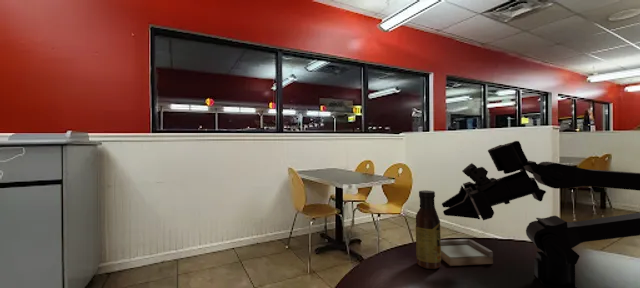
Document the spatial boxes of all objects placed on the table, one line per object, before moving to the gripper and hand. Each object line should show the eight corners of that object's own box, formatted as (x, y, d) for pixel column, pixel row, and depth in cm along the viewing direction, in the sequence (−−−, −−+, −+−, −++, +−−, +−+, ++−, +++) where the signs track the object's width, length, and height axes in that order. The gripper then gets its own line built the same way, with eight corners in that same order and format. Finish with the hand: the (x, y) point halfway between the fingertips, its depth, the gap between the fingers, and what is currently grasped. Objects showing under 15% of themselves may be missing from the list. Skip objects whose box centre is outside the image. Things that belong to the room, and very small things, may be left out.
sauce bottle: (443, 271, 71) (442, 193, 71) (418, 269, 73) (416, 193, 73) (438, 260, 78) (437, 189, 78) (414, 259, 79) (413, 189, 79)
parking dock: (470, 249, 85) (470, 238, 85) (492, 263, 75) (492, 251, 75) (432, 251, 84) (432, 240, 84) (450, 265, 74) (450, 253, 74)
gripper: (484, 156, 78) (430, 176, 84) (500, 160, 61) (429, 185, 66) (503, 194, 77) (446, 212, 82) (524, 209, 59) (450, 230, 65)
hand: (443, 209), depth 74 cm, fingers open, 9 cm apart
